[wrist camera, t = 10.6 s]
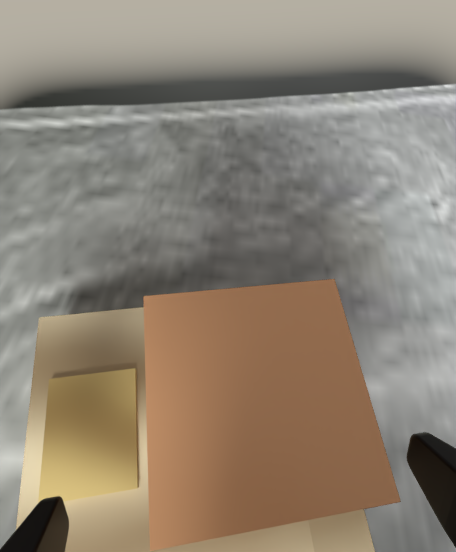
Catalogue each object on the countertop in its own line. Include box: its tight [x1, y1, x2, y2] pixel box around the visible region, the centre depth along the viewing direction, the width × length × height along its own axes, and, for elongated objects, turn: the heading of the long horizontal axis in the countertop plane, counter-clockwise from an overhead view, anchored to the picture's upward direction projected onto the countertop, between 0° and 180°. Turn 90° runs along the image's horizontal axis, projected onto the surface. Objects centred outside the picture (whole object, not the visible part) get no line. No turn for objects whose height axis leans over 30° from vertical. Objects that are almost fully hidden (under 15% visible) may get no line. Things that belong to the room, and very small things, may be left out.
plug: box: [143, 279, 401, 551], centre depth 12 cm, size 4×4×13 cm
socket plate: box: [16, 307, 375, 552], centre depth 14 cm, size 20×14×3 cm
